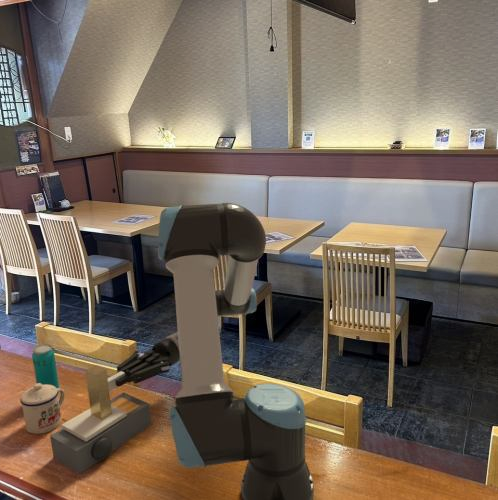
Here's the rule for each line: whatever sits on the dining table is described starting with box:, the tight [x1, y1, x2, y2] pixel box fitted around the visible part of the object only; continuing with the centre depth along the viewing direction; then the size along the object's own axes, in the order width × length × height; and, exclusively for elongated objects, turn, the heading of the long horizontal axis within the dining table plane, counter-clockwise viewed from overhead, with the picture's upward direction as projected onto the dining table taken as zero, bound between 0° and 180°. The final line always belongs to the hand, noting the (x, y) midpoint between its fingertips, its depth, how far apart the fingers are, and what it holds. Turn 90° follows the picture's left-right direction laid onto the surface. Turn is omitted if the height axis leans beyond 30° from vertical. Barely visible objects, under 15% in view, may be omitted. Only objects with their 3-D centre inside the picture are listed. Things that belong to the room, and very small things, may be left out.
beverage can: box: [31, 344, 60, 394], centre depth 143 cm, size 6×6×15 cm
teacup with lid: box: [19, 383, 66, 435], centre depth 132 cm, size 12×9×12 cm
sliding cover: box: [61, 364, 127, 442], centre depth 120 cm, size 12×9×13 cm
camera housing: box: [49, 392, 153, 475], centre depth 124 cm, size 22×11×6 cm, turn 144°
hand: (102, 388), depth 123 cm, fingers closed
